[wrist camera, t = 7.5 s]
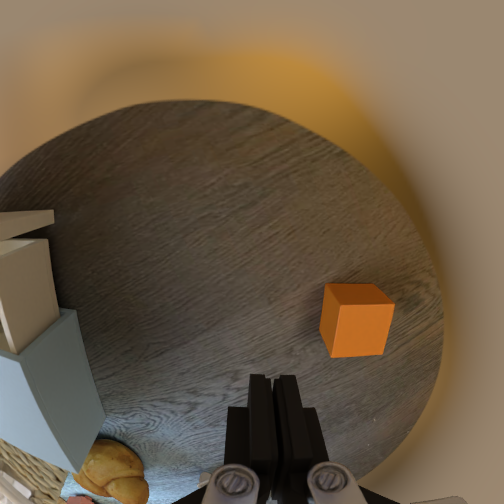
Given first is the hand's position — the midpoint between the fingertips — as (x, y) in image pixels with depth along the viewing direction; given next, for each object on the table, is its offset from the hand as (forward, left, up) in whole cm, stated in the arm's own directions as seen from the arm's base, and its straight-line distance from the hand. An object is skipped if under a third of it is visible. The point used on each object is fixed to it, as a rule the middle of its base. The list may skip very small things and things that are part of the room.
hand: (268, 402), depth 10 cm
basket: (+35, -42, -14) cm, 57 cm away
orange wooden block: (+2, +8, -14) cm, 16 cm away
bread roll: (+27, -19, -14) cm, 36 cm away
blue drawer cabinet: (+11, -23, -14) cm, 29 cm away
